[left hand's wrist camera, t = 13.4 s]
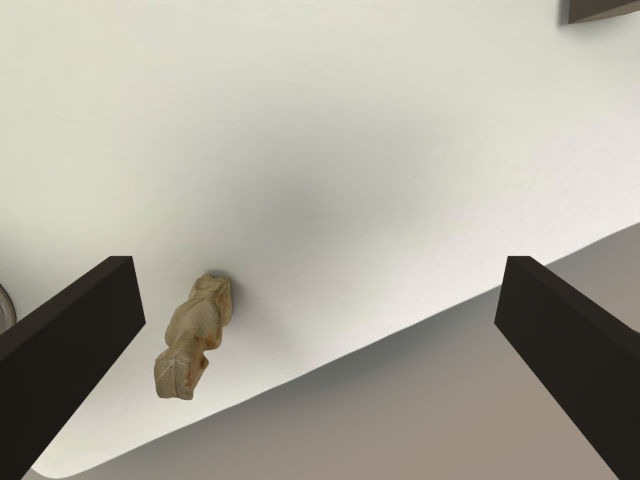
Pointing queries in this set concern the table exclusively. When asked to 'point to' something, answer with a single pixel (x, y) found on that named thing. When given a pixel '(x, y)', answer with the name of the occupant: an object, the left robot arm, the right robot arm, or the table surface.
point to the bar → (600, 9)
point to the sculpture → (193, 337)
